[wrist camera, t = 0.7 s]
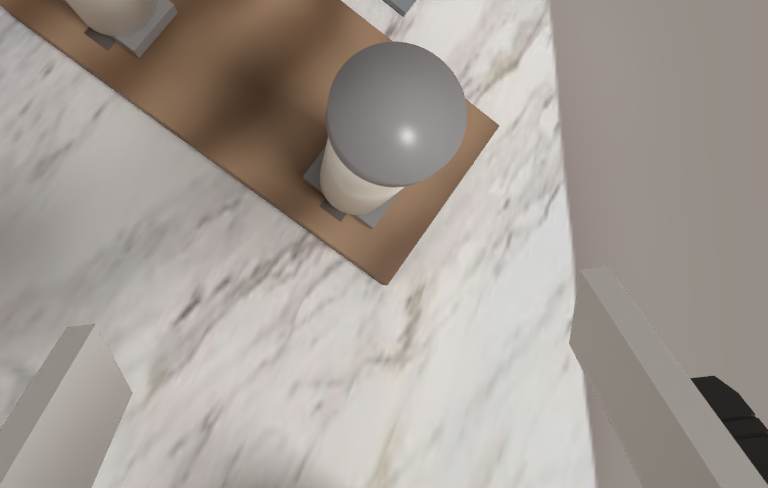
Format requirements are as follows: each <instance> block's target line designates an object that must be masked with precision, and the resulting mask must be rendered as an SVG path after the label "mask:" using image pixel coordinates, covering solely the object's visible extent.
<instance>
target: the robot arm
mask: <svg viewBox="0 0 768 488" xmlns="http://www.w3.org/2000/svg"><path fill="white" fill-rule="evenodd" d="M569 344H570V346H571V348H572V350H573V352H574V354H575V356H576V358H577V360H578V362H579V364H580V366H581V367H582V369H583V371H584V373H585V375H586V377H587V379H588V381H589V383H590V385H591V387H592V389H593V391H594V393H595V395H596V397H597V399H598V401H599V403H600V404H601V406H602V408H603V410H604V412H605V414H606V416H607V418H608V420H609V422H610V424H611V426H612V428H613V430H614V432H615V434H616V436H617V438H618V440H619V442H620V444H621V445H622V447H623V449H624V451H625V453H626V455H627V457H628V459H629V461H630V463H631V465H632V467H633V469H634V471H635V473H636V475H637V477H638V479H639V481H640V483H641V485H642V486H643V488H768V429H767V428H766V427H765V426H764V424H763V423H762V422H761V421H760V420H759V418H756V417H755V413H754V412H753V411H752V410H751V408H750V407H749V406H748V405H747V403H746V402H745V401H744V400H743V399H742V397H741V396H740V395H739V393H737V392H736V391H735V390H733V389H732V388H730V387H729V386H728V385H726V384H725V383H724V382H722V381H721V380H719V379H718V378H717V377H715V376H708V377H700V378H689V376H688V375H687V374H686V372H685V371H684V370H683V368H682V367H681V366H680V364H679V363H678V361H677V360H676V359H675V357H674V356H673V355H672V353H671V352H670V350H669V349H668V348H667V346H666V345H665V343H664V342H663V341H662V339H661V338H660V337H659V335H658V334H657V333H656V331H655V330H654V328H653V327H652V326H651V324H650V323H649V322H648V320H647V319H646V317H645V316H644V315H643V313H642V312H641V311H640V309H639V308H638V306H637V305H636V304H635V303H634V301H633V300H632V298H631V297H630V296H629V294H628V293H627V291H626V290H625V289H624V287H623V286H622V285H621V283H620V282H619V280H618V279H617V278H616V276H615V275H614V274H613V272H612V271H611V269H610V268H609V267H608V266H607V267H598V268H589V269H581V270H580V273H579V280H578V287H577V293H576V300H575V307H574V314H573V321H572V328H571V335H570V342H569ZM131 395H132V391H131V389H130V387H129V385H128V384H127V382H126V380H125V378H124V376H123V374H122V372H121V371H120V369H119V367H118V365H117V363H116V361H115V359H114V358H113V356H112V354H111V352H110V350H109V348H108V346H107V344H106V343H105V341H104V339H103V337H102V335H101V333H100V331H99V330H98V328H97V326H96V324H92V325H84V326H75V327H67V328H66V330H65V332H64V333H63V335H62V336H61V338H60V339H59V341H58V342H57V344H56V345H55V347H54V348H53V350H52V351H51V353H50V354H49V356H48V357H47V359H46V360H45V362H44V363H43V365H42V367H41V368H40V370H39V371H38V373H37V374H36V376H35V377H34V379H33V380H32V382H31V383H30V385H29V386H28V388H27V389H26V391H25V392H24V394H23V395H22V397H21V398H20V400H19V402H18V403H17V405H16V406H15V408H14V409H13V411H12V412H11V414H10V415H9V417H8V418H7V420H6V421H5V423H4V424H3V426H2V427H1V429H0V488H91V487H92V485H93V483H94V480H95V478H96V476H97V473H98V471H99V469H100V466H101V464H102V462H103V460H104V457H105V455H106V453H107V450H108V448H109V446H110V443H111V441H112V439H113V437H114V434H115V432H116V430H117V427H118V425H119V423H120V420H121V418H122V416H123V414H124V411H125V409H126V407H127V404H128V402H129V400H130V397H131Z"/></svg>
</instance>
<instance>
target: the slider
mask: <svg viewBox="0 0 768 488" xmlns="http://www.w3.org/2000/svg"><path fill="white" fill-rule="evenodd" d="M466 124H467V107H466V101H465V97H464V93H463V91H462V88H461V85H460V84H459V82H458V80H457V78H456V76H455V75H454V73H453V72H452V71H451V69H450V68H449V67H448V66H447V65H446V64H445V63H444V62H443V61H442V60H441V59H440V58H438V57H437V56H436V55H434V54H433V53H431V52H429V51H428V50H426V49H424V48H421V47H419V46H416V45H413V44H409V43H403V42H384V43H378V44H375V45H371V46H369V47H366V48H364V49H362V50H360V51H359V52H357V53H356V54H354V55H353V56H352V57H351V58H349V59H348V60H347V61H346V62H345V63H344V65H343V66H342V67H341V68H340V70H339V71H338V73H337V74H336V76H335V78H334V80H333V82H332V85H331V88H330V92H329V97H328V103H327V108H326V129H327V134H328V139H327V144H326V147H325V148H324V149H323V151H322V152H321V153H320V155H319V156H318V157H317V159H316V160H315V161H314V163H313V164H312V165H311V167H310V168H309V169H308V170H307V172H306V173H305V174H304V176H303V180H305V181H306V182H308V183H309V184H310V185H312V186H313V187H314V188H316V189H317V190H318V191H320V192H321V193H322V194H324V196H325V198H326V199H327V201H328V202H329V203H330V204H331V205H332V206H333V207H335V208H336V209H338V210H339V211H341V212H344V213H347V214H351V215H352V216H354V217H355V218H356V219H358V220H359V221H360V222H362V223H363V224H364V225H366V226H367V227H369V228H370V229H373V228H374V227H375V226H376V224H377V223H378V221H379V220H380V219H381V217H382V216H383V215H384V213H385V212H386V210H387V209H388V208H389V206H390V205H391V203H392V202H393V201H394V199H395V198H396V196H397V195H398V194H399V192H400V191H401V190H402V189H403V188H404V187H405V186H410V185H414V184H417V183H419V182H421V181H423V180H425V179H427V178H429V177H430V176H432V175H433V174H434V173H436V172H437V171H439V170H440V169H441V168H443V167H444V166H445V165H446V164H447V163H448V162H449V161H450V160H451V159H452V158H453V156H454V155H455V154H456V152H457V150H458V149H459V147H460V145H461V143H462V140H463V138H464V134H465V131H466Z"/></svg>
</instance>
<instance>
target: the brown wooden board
mask: <svg viewBox="0 0 768 488" xmlns="http://www.w3.org/2000/svg"><path fill="white" fill-rule="evenodd" d="M169 1H170V2H172V3H173V4H174V6H175V8H176V10H177V12H178V13H177V14H176V16H175V17H174V18H173V19H172V20H171V21H170V23H169V24H168V25H167V26H166V27H165V29H164V30H163V31H162V32H161V33H160V34H159V36H158V37H157V38H156V39H155V40H154V41H153V43H152V44H151V45H150V46H149V47H148V49H147V50H146V51H145V52H144V53H143V54H142V56H141V57H140V58H138V57H137V56H135V55H134V54H133V53H131V52H130V51H129V50H127V49H126V48H125V47H123V46H122V45H120V44H119V43H118V42H116V41H115V40H114V39H112V38H111V37H110V36H108V35H104V34H101V33H99V32H97V31H95V30H93V29H92V28H90V27H89V26H88V25H87V24H85V22H84V21H83V20H82V19H81V18H80V17H79V16H78V14H77V13H76V12H75V11H74V10H73V9H72V8H70V7H69V6H68V5H66V4H65V3H64V2H62V0H0V5H1V6H2V7H3V8H5V9H6V10H7V11H8V12H9V13H10V14H11V15H12V16H13V17H14V18H16V19H17V20H18V21H20V22H21V23H22V24H24V25H25V26H27V27H28V28H29V29H31V30H32V31H33V32H35V33H36V34H38V35H39V36H40V37H42V38H43V39H45V40H46V41H47V42H49V43H50V44H51V45H53V46H54V47H56V48H57V49H58V50H60V51H61V52H62V53H64V54H65V55H67V56H68V57H69V58H71V59H72V60H73V61H75V62H76V63H78V64H79V65H80V66H82V67H83V68H84V69H86V70H87V71H89V72H90V73H91V74H93V75H94V76H95V77H97V78H98V79H100V80H101V81H102V82H104V83H105V84H106V85H108V86H109V87H111V88H112V89H113V90H115V91H116V92H117V93H119V94H120V95H122V96H123V97H124V98H126V99H127V100H129V101H130V102H131V103H133V104H134V105H135V106H137V107H138V108H140V109H141V110H142V111H144V112H145V113H146V114H148V115H149V116H151V117H152V118H153V119H155V120H156V121H157V122H159V123H160V124H162V125H163V126H164V127H166V128H167V129H168V130H170V131H171V132H173V133H174V134H175V135H177V136H178V137H179V138H181V139H182V140H184V141H185V142H186V143H188V144H189V145H190V146H192V147H193V148H195V149H196V150H197V151H199V152H200V153H201V154H203V155H204V156H206V157H207V158H208V159H210V160H211V161H213V162H214V163H215V164H217V165H218V166H219V167H221V168H222V169H224V170H225V171H226V172H228V173H229V174H230V175H232V176H233V177H235V178H236V179H237V180H239V181H240V182H241V183H243V184H244V185H246V186H247V187H248V188H250V189H251V190H252V191H254V192H255V193H257V194H258V195H259V196H261V197H262V198H263V199H265V200H266V201H268V202H269V203H270V204H272V205H273V206H274V207H276V208H277V209H279V210H280V211H281V212H283V213H284V214H285V215H287V216H288V217H290V218H291V219H292V220H294V221H295V222H297V223H298V224H299V225H301V226H302V227H303V228H305V229H306V230H308V231H309V232H310V233H312V234H313V235H314V236H316V237H317V238H319V239H320V240H321V241H323V242H324V243H325V244H327V245H328V246H330V247H331V248H332V249H334V250H335V251H336V252H338V253H339V254H341V255H342V256H343V257H345V258H346V259H347V260H349V261H350V262H352V263H353V264H354V265H356V266H357V267H358V268H360V269H361V270H363V271H364V272H365V273H367V274H368V275H369V276H371V277H372V278H374V279H375V280H376V281H378V282H379V283H381V284H382V285H388V284H389V282H390V281H391V279H392V278H393V276H394V275H395V274H396V272H397V271H398V269H399V268H400V267H401V265H402V264H403V262H404V261H405V259H406V258H407V257H408V255H409V254H410V252H411V251H412V249H413V248H414V247H415V245H416V244H417V242H418V241H419V239H420V238H421V237H422V235H423V234H424V232H425V231H426V230H427V228H428V227H429V225H430V224H431V222H432V221H433V220H434V218H435V217H436V215H437V214H438V212H439V211H440V210H441V208H442V207H443V205H444V204H445V203H446V201H447V200H448V198H449V197H450V195H451V194H452V193H453V191H454V190H455V188H456V187H457V185H458V184H459V183H460V181H461V180H462V178H463V177H464V175H465V174H466V173H467V171H468V170H469V168H470V167H471V166H472V164H473V163H474V161H475V160H476V158H477V157H478V156H479V154H480V153H481V151H482V150H483V148H484V147H485V146H486V144H487V143H488V141H489V140H490V139H491V137H492V136H493V134H494V133H495V131H496V130H497V129H498V127H499V125H498V124H497V123H495V122H494V121H493V120H492V119H490V118H489V117H488V116H487V115H485V114H484V113H483V112H481V111H480V110H479V109H478V108H476V107H475V106H474V105H473V104H471V103H470V102H469V101H468V100H466V99H465V101H466V107H467V124H466V131H465V134H464V138H463V140H462V143H461V145H460V147H459V149H458V150H457V152H456V154H455V155H454V156H453V158H452V159H451V160H450V161H449V162H448V163H447V164H446V165H445V166H444V167H443V168H441V169H440V170H439V171H437V172H436V173H434V174H433V175H432V176H430V177H429V178H427V179H425V180H423V181H421V182H419V183H417V184H414V185H410V186H405V187H404V188H403V189H402V190H401V191H400V192H399V194H398V195H397V196H396V198H395V199H394V201H393V202H392V203H391V205H390V206H389V208H388V209H387V210H386V212H385V213H384V215H383V216H382V217H381V219H380V220H379V221H378V223H377V224H376V226H375V227H374V228H373V229H370V228H369V227H367V226H366V225H364V224H363V223H362V222H360V221H359V220H358V219H356V218H355V217H354V216H352V215H351V214H347V213H344V212H341V211H339V210H338V209H336V208H335V207H333V206H332V205H331V204H330V203H329V202H328V201H327V199H326V198H325V196H324V194H322V193H321V192H320V191H318V190H317V189H316V188H314V187H313V186H312V185H310V184H309V183H308V182H306V181H305V180H303V176H304V174H305V173H306V172H307V170H308V169H309V168H310V167H311V165H312V164H313V163H314V161H315V160H316V159H317V157H318V156H319V155H320V153H321V152H322V151H323V149H324V148H325V147H326V144H327V139H328V134H327V129H326V108H327V103H328V97H329V92H330V88H331V85H332V82H333V80H334V78H335V76H336V74H337V73H338V71H339V70H340V68H341V67H342V66H343V65H344V63H345V62H346V61H347V60H348V59H349V58H351V57H352V56H353V55H354V54H356V53H357V52H359V51H360V50H362V49H364V48H366V47H369V46H371V45H375V44H378V43H384V42H393V41H391V40H390V39H389V38H388V37H386V36H385V35H384V34H383V33H381V32H380V31H379V30H377V29H376V28H375V27H374V26H372V25H371V24H370V23H369V22H367V21H366V20H365V19H364V18H362V17H361V16H360V15H358V14H357V13H356V12H355V11H353V10H352V9H351V8H350V7H348V6H347V5H346V4H345V3H343V2H342V1H341V0H169Z"/></svg>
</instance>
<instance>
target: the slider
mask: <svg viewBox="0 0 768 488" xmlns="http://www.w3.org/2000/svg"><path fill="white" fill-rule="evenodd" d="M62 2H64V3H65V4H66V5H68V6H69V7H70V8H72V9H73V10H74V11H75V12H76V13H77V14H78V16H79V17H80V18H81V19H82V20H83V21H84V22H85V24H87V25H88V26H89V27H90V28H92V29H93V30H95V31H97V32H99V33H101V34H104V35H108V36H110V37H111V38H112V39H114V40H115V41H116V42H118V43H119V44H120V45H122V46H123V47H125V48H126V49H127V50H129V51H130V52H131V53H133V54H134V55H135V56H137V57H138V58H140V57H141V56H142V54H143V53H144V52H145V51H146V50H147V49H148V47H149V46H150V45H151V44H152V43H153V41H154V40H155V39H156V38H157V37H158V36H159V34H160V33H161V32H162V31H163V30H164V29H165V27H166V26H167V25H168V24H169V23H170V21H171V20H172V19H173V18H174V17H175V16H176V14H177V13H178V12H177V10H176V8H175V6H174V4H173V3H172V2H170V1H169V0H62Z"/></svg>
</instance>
